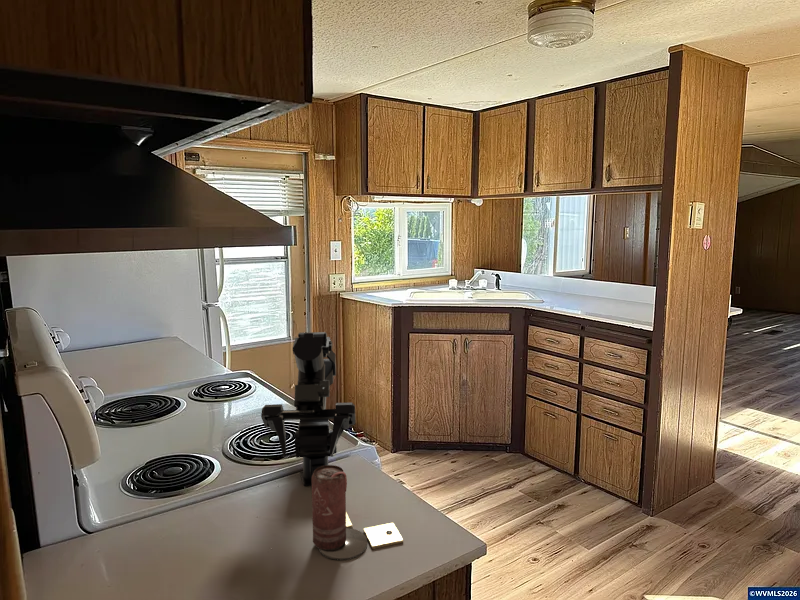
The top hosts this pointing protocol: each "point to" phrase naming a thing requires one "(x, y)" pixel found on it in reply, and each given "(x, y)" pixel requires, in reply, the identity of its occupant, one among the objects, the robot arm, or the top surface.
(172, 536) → the top surface
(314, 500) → the can
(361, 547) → the flat squares and disc
